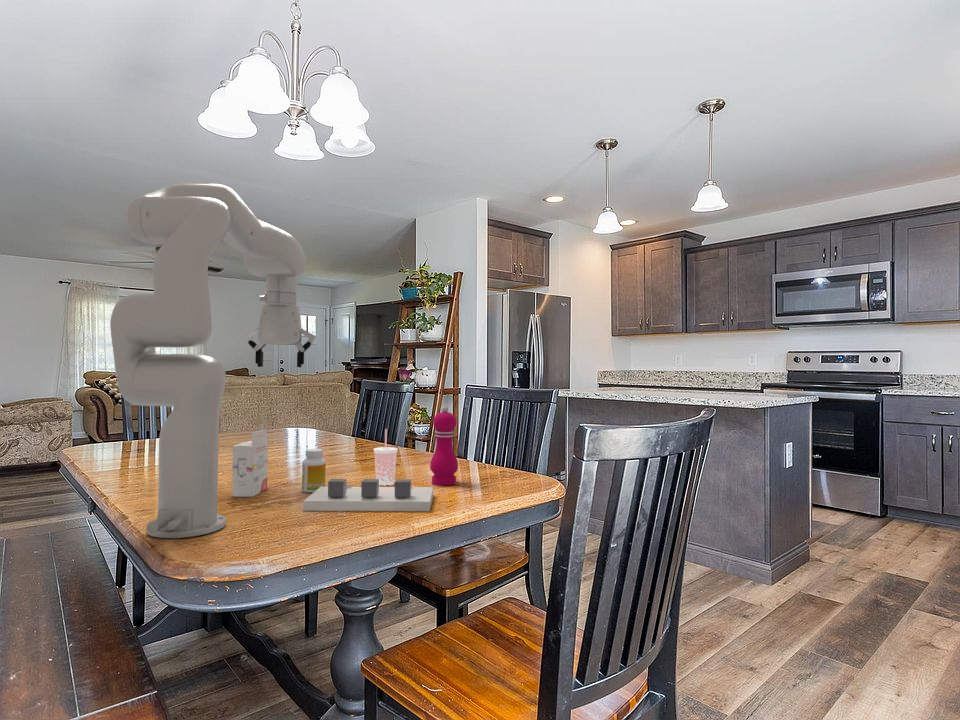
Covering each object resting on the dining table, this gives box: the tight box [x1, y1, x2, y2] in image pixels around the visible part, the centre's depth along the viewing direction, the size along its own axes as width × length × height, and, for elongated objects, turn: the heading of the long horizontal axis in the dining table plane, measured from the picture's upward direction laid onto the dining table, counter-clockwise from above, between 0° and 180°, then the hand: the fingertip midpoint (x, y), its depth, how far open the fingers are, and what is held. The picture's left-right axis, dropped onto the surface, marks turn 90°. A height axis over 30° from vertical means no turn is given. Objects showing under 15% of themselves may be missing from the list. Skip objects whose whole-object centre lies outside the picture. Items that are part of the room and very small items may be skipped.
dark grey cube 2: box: [360, 478, 380, 497], centre depth 117 cm, size 3×3×3 cm
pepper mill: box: [429, 405, 459, 486], centre depth 142 cm, size 7×7×20 cm
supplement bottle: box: [301, 448, 327, 493], centre depth 132 cm, size 5×5×10 cm
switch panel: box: [302, 486, 434, 512], centre depth 120 cm, size 14×26×2 cm, turn 92°
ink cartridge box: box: [231, 428, 269, 498], centre depth 128 cm, size 9×5×15 cm, turn 179°
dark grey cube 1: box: [327, 478, 347, 497], centre depth 117 cm, size 3×3×3 cm
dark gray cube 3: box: [394, 478, 412, 497], centre depth 117 cm, size 3×3×3 cm
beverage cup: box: [373, 428, 399, 487], centre depth 140 cm, size 6×6×14 cm
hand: (279, 367), depth 141 cm, fingers open, 9 cm apart
